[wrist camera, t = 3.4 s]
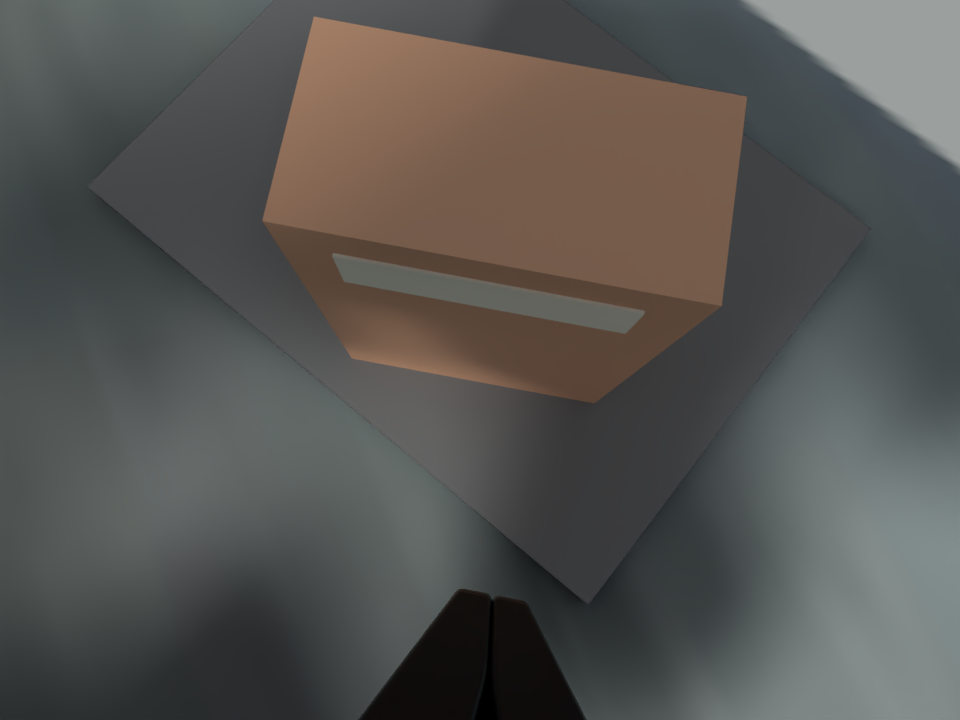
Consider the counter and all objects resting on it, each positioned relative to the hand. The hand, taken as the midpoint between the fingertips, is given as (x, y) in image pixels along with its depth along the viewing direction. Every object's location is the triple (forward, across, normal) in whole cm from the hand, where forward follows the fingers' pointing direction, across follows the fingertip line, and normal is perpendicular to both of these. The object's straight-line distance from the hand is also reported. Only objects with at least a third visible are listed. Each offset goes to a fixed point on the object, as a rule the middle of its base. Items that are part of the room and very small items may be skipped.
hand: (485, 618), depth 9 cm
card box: (+10, -1, -2) cm, 11 cm away
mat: (+13, -1, 0) cm, 13 cm away
